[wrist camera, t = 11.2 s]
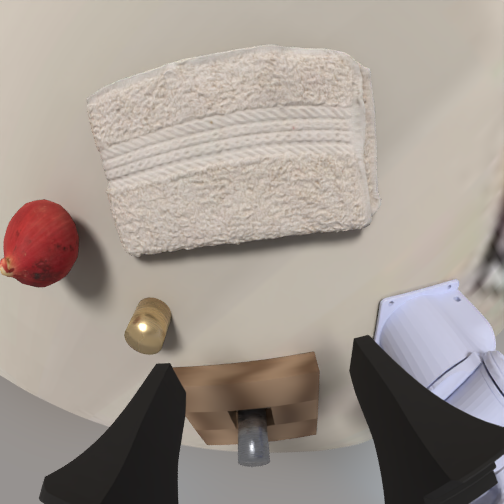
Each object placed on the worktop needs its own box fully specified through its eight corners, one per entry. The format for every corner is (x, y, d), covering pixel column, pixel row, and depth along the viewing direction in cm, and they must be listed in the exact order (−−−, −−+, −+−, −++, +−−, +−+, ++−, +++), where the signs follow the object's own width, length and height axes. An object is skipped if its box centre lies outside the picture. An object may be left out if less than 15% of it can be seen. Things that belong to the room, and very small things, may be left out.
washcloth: (369, 215, 19) (388, 231, 16) (133, 251, 19) (118, 271, 17) (355, 55, 14) (374, 45, 11) (96, 99, 14) (73, 97, 11)
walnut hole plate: (314, 351, 24) (319, 371, 22) (313, 418, 30) (316, 434, 28) (170, 367, 24) (166, 386, 22) (208, 429, 30) (207, 444, 28)
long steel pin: (263, 391, 26) (268, 456, 19) (265, 405, 28) (270, 465, 20) (235, 393, 26) (235, 458, 19) (239, 407, 28) (240, 467, 20)
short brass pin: (164, 295, 21) (153, 324, 17) (175, 324, 22) (167, 353, 19) (132, 299, 21) (118, 326, 18) (145, 326, 22) (133, 354, 19)
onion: (109, 221, 18) (47, 276, 10) (79, 269, 19) (28, 330, 12) (58, 173, 16) (-16, 206, 9) (34, 226, 17) (-26, 271, 10)
